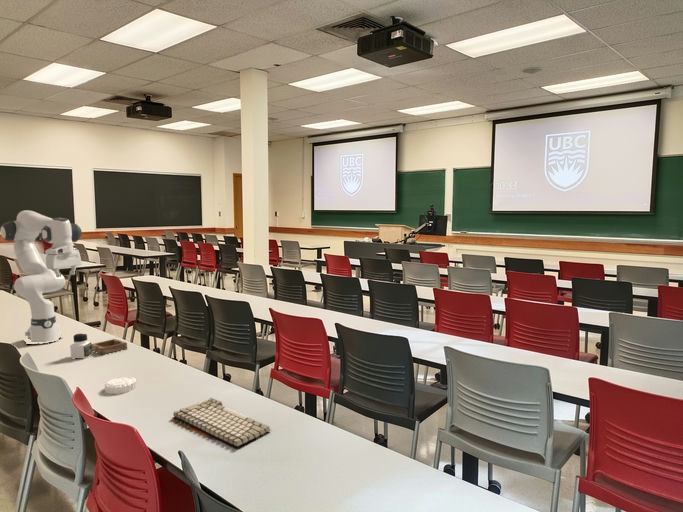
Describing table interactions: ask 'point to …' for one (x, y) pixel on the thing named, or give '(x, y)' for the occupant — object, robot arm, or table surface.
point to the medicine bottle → (80, 346)
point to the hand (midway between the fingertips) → (65, 276)
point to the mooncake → (120, 385)
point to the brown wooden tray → (109, 346)
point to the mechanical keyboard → (220, 423)
